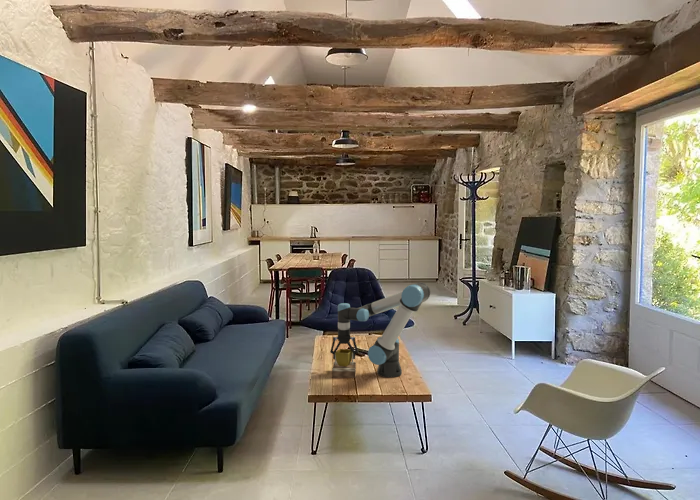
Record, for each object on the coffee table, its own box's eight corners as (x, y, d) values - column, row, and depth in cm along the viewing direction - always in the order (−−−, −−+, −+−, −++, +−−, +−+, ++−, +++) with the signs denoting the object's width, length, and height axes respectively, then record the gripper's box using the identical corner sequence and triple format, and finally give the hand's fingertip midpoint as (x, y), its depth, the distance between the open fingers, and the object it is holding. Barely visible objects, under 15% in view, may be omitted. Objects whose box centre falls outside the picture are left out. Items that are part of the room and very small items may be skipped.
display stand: (355, 370, 308) (355, 361, 308) (355, 377, 294) (355, 368, 294) (333, 370, 309) (333, 361, 308) (332, 377, 295) (332, 368, 294)
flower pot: (340, 362, 307) (339, 348, 306) (353, 363, 304) (353, 349, 303) (335, 366, 298) (334, 352, 298) (348, 368, 296) (348, 353, 295)
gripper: (362, 327, 303) (362, 362, 304) (326, 327, 304) (326, 362, 305) (362, 330, 295) (362, 366, 297) (325, 330, 296) (325, 366, 298)
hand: (344, 364), depth 301 cm, fingers closed on flower pot, 10 cm apart
